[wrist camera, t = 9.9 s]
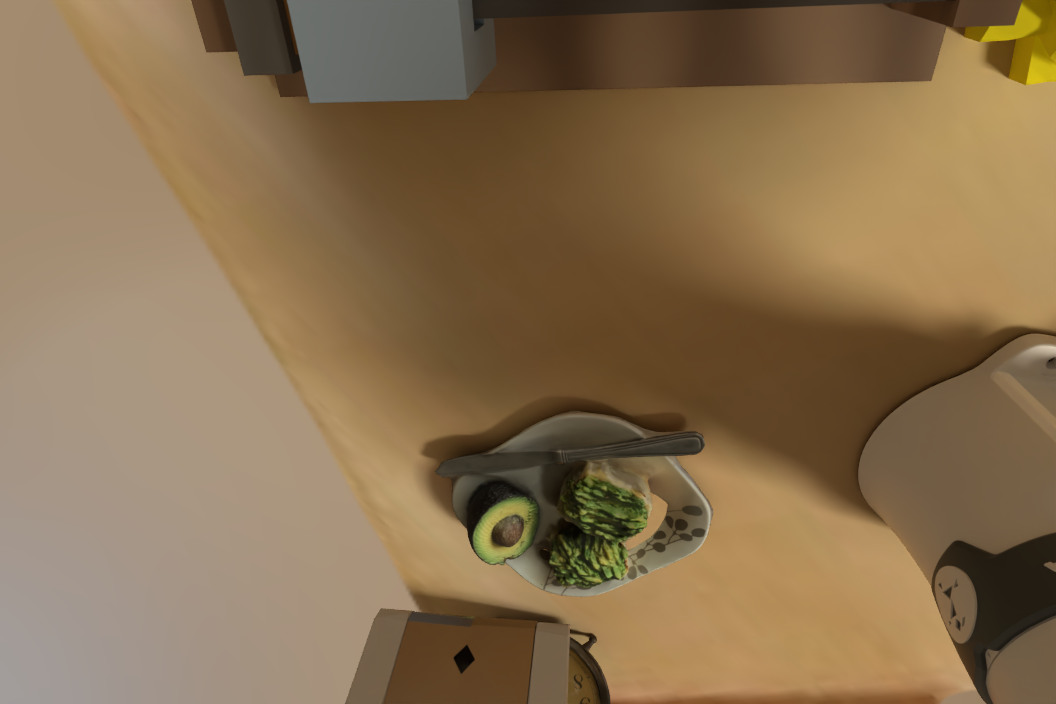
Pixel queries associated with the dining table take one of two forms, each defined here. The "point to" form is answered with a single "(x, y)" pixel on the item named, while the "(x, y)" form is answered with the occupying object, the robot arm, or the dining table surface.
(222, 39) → the rail rig
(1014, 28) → the crumpled paper
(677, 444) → the salad plate
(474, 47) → the sleeve
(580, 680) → the alarm clock
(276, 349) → the dining table surface
